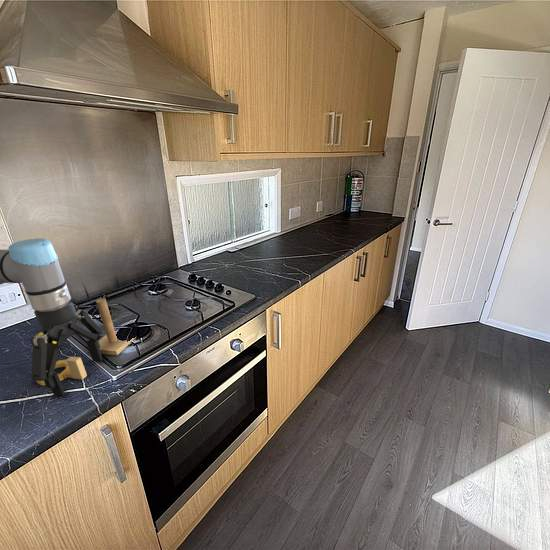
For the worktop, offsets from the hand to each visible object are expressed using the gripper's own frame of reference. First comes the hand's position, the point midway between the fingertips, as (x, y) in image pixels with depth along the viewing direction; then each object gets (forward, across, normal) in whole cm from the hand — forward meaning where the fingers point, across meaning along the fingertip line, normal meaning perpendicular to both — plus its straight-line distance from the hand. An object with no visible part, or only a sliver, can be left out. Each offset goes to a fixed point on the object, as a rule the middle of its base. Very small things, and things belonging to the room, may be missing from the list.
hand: (80, 376), depth 77 cm
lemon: (0, +6, +16) cm, 18 cm away
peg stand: (0, +14, +1) cm, 14 cm away
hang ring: (0, 0, +5) cm, 5 cm away
